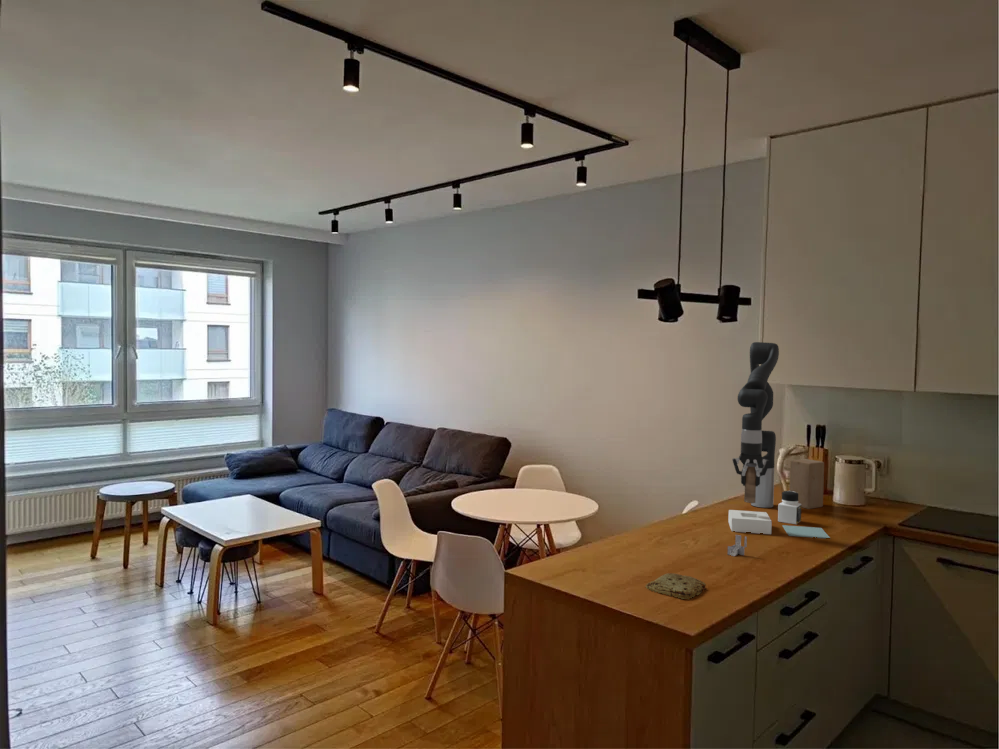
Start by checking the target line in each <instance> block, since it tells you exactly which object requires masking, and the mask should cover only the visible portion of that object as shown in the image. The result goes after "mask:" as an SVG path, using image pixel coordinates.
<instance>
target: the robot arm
mask: <svg viewBox="0 0 999 749" xmlns="http://www.w3.org/2000/svg"><path fill="white" fill-rule="evenodd" d="M779 349H780V348H779V345H778V343H775V342H763V341H762V342H761V341H755V342H752V343H751V344H750V348H749V366H750V368H749V369H750V374H749V375H748V379H747V382H746V383H745V384H744V385H743V386H742V387H741V389H740V390H739V391H738V394H737V403H738V404H739V405H740V406H741V407H743V408H749V409H750V413H745V414H743V415H742V418H741V434H740V454H739V456H738V457H736V458H734V457H733V458H732V464H733V466H734V470H735V473H736V474H737V475H740V483H741V485H742V486H743V487H745V473H746V470H747V467H748V466H746V463H756V464H757V463H758V464H757V466H756V467H755V470H756V499H755V503H750V505H751V506H753V507H757V508H765V509H768V508H773V507H774V497H775V496H774V495H775V494H774V493H775V454H776V444H777V437H776V433H775V431H773V430H764V429H763V427H762V426H763V423H762V422H763V420H764V419H765V418H766V417H767V415H769V413H770V412H771V411H772V409H773V406H774V389H773V388H772V386H771V385H770V383H769V382H768V381H769V378H770V377H771V374H772V372H773V371H774V370H775V367H776V365H777V363H778V361H779V355H780V350H779ZM762 429H763V430H762ZM763 452H766V454H765V455H763V456H762V454H763ZM740 462H741V463H742V468H741V470H740V469H739V466H738V464H739V463H740Z"/></svg>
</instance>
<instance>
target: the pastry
mask: <svg viewBox="0 0 999 749" xmlns="http://www.w3.org/2000/svg"><path fill="white" fill-rule="evenodd" d="M645 587H646V588H647V589H649V590H648V591H650V590H651V592H653V591H654V593H656V592H658V593H657V594H659V593H662V594H661V595H663V594H666V595H665V596H668V595H670V596H669V597H672V596H674V597H673V598H675V597H678V598H677V599H679V598H681V599H680V600H683V599H688V600H690V599H689V598H691V599H693V598H695V597H696V596H695V595H697V596H699V595H700V594H702V592H703V591H704V590H706V587H707V584H706V583H705V581H702V580H700V579H698V578H695V577H693V576H690V575H682V574H678V573H673V572H671V573H670V572H669V573H665V574H663V575H661V576H659V577H658V578H656V579H654V580H651V581H650V582H647V583H646V584H645ZM645 587H644V588H645ZM646 588H645V589H646ZM647 589H646V590H647ZM702 590H703V591H702ZM692 597H693V598H692Z"/></svg>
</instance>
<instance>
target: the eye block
mask: <svg viewBox="0 0 999 749" xmlns="http://www.w3.org/2000/svg"><path fill="white" fill-rule="evenodd" d="M727 521H728V525H729V528H730V531H731V532H733V531H735V533H746V532H751V533H750V534H760V533H763V534H762V535H772V524H773V523H772V519H771V518H770V516H769V514H768V513H767V512H766V511H751V510H739V509H738V510H737V509H728V520H727Z"/></svg>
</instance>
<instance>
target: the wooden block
mask: <svg viewBox="0 0 999 749" xmlns="http://www.w3.org/2000/svg"><path fill="white" fill-rule="evenodd" d="M789 462H790V463H789V464H790V467H789V491H794V492H796V493H798V503H800V504H801V509H807V510H811V509H815V508H817V509H818V508H823V506H824V485H825V484H824V482H825V481H824V480H825V479H824V477H825V462H824V461H821V460H815V459H809V458H800V459H791V460H790V461H789Z"/></svg>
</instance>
